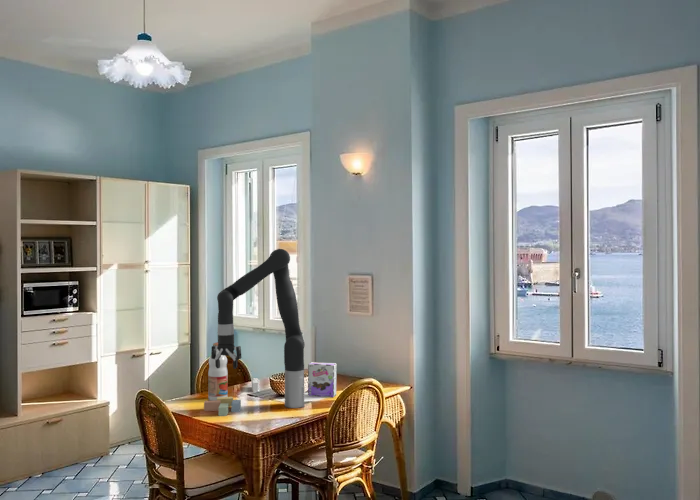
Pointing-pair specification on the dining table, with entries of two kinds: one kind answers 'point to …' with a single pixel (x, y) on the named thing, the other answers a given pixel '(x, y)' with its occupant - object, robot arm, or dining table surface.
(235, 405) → the slate brick
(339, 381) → the dining table surface
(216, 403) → the terracotta brick
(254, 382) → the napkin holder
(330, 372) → the candy box
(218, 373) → the fruit juice
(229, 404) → the ochre brick
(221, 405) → the sage brick
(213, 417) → the dining table surface
